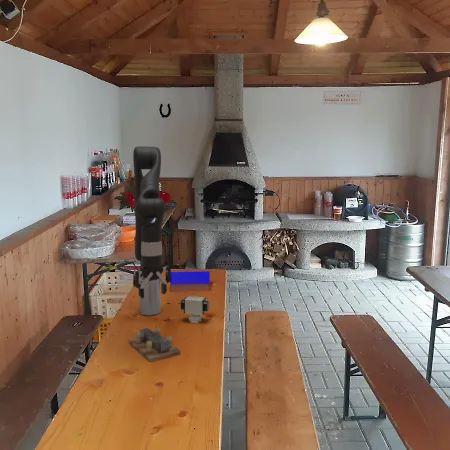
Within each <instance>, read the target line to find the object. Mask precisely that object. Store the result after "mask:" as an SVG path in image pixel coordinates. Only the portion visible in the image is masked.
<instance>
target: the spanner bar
mask: <svg viewBox="0 0 450 450" xmlns="http://www.w3.org/2000/svg"><path fill="white" fill-rule="evenodd" d="M138 332H141V341H142V342H144V343H145V344H146V342H147V341H152V348H153V349H155V350H156V351H158V352H160V353H164V352H167V351H169V340H167V337H166V338H165V337H164V336H162V335H161V336H160V335H159V334H157V333H155V331H153V330H151V328H148V327H147V328H146V327H145V328H142V329H139V330H138Z"/></svg>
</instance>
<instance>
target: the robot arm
mask: <svg viewBox="0 0 450 450" xmlns="http://www.w3.org/2000/svg"><path fill="white" fill-rule="evenodd" d="M132 152H133V155H132V158H133V159H132V161H133V173H134V174H133V175H134V176H133V177H134V219H135V231H134V232H135V233H134V234H135V236H134V256H135V259H136V261H138V262H139V261H140V262H141V268H140V269H138V270H136V269H134V270H133V275H132V286H133V287H135V288H137V290H138V296H139V314H141V315H142V316H155V315H159V314H160V313H161V312H162V309H161V306H162V305H161V294H162V295H166V293H167V291H168V287H167V285H168V283H169V284H170V282H171V272H172V271H171V269H172V268H171V266H169V265H165V266H163V245H162V224H163V220H164V216H165V212H166V203H165V200H163V199H162V198H160V175H161V168H162V167H161V166H162V153H161V150H160V148H159V147H158V146H157V147H156V146H135V147H134V149H133V151H132ZM142 170H149V171H148V172H147V173H146V174H145V175H144V174H143V172H142ZM163 272H165V273H164V274H165V277H164V276H163V275H162V274H163Z"/></svg>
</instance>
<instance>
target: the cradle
mask: <svg viewBox="0 0 450 450" xmlns="http://www.w3.org/2000/svg"><path fill="white" fill-rule="evenodd" d="M154 332H155V333H157V334H159V335H160V336H162V335H161V333H162V332H161V328H160V327H155V328H154ZM166 339H167V340H169V351H167V352H164V353H160V352H158V351H156V350H155V349H153V348H152V341H147V342H146V344H145V343H144V342H142V341H141V332H139V331H137V332H135V338H132V339H128V343H129V345H131V346H132V348H134V349H135V350H136V351H137V352H139V353H140V354H141V355H142V356H143V357H144V358H145V359H146V360H147V361H148V362H150V363H151V362H155V361H159V360H163V359H167V358H170V357H171V358H172V357H175V356H179V355H181V350H180V349H179V348H178V347H176V346H174V345H173V337H172V336H171V335H169V336H166Z"/></svg>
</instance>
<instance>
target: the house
mask: <svg viewBox="0 0 450 450" xmlns="http://www.w3.org/2000/svg"><path fill="white" fill-rule="evenodd" d="M210 275H211V274H210V271H209V270H207V271H206V270H205V271H203V270H202V271H200V270H199V271H198V270H197V271H195V270H194V271H171V282H169V284H170V292H174V293H175V292H205V291H206V292H207V291H210V284H211V282H210V281H211V276H210Z"/></svg>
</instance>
